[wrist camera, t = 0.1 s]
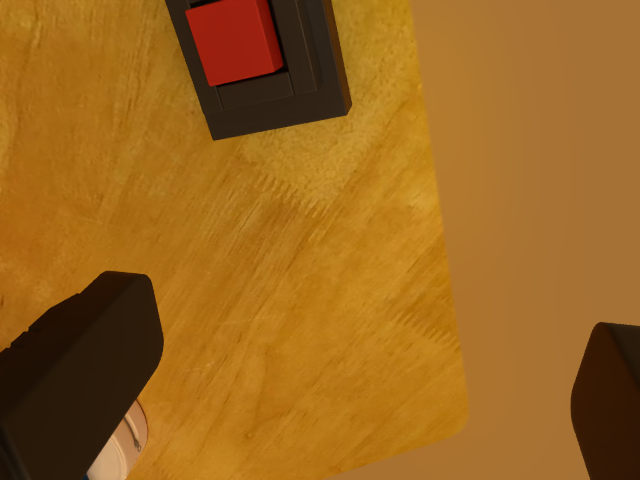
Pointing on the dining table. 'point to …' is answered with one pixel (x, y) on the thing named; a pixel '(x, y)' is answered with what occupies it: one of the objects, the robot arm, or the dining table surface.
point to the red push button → (280, 86)
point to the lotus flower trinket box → (121, 448)
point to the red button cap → (235, 39)
